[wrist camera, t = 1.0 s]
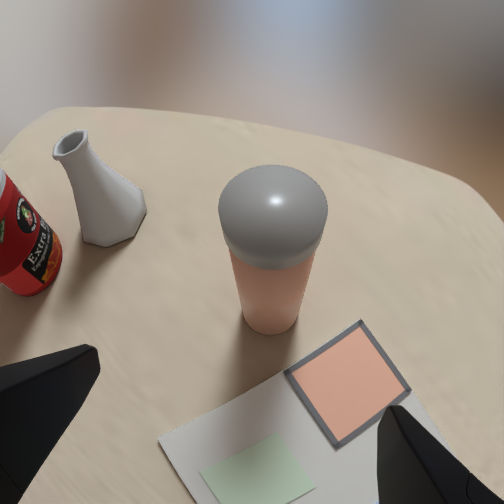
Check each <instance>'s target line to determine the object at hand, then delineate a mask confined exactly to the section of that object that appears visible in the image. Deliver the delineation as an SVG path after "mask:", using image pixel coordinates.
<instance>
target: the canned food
mask: <svg viewBox="0 0 504 504" xmlns="http://www.w3.org/2000/svg"><path fill="white" fill-rule="evenodd" d="M61 260H62V247H61V244H60V241H59V239H58V236H57V235H56V234H55V232H54V231H53V230H52V229H51V228H50V227H49V225H48V224H47V223H46V222H45V221H44V220H43V218H42V217H41V216H40V215H39V214H38V213H37V211H36V210H35V209H34V208H33V207H32V205H31V204H30V203H29V202H28V201H27V199H26V198H25V197H24V196H23V194H22V193H21V192H20V191H19V189H18V188H17V187H16V186H15V184H14V183H13V182H12V180H11V179H10V178H9V177H8V176H7V174H6V173H5V172H4V170H2V169H1V168H0V283H1V284H2V285H3V286H5V287H6V288H8V289H9V290H11V291H12V292H14V293H15V294H19V295H23V296H32V295H35V294H37V293H39V292H41V291H42V290H44V289H45V288H46V287H47V286H48V285H49V284H50V283H51V282H52V280H53V279H54V277H55V276H56V274H57V272H58V270H59V267H60V265H61Z"/></svg>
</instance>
